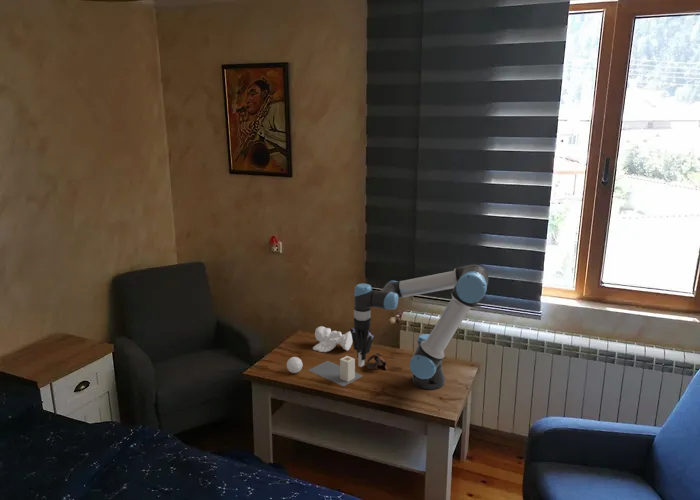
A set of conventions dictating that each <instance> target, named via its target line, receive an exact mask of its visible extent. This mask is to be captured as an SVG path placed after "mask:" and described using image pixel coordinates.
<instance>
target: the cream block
mask: <svg viewBox="0 0 700 500" xmlns="http://www.w3.org/2000/svg"><path fill="white" fill-rule="evenodd" d="M339 366H340V379H342V380H345V381H347V382H349V381H350V380H352V379H354V378H355V372H356V359H355V358H354V357H351V356H349V355H345V356H344V357H341V358H339Z"/></svg>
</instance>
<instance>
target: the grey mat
mask: <svg viewBox="0 0 700 500" xmlns="http://www.w3.org/2000/svg"><path fill="white" fill-rule="evenodd" d="M308 371H309V372H311V373H314V374H316V375H317V376H320V377H322V378H324V379H326V380H328V381H330V382H333V383H335V384H338V385H339V386H341V387H345V386H347V385H349V384H352V383H353V382H355V381H356V380H359V379H360V378H362V377H364V375H362V374H360V373H358V372H356V371H355V378H354V379H352V380H350V381H349V382H347V381H345V380H342V379H340V364H337V363H335V362H332V361H330V360H326V361H324V362H322V363H320V364H317V365H316V366H314V367H312V368H309V369H308Z"/></svg>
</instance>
